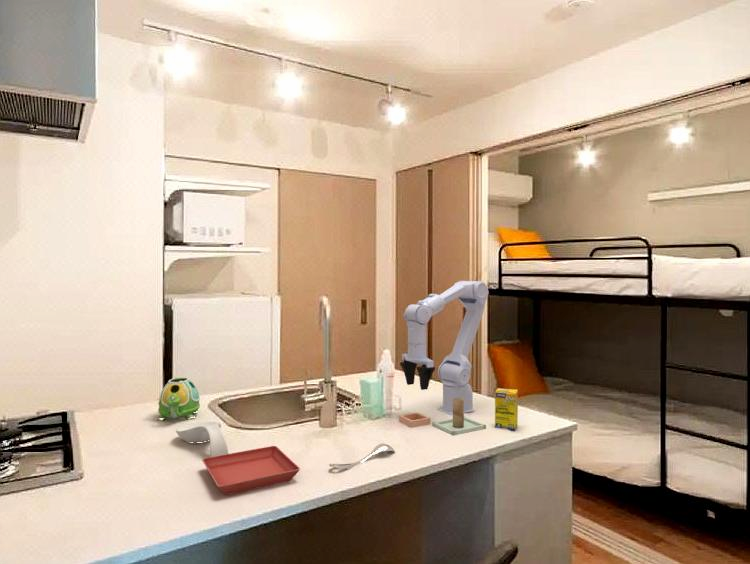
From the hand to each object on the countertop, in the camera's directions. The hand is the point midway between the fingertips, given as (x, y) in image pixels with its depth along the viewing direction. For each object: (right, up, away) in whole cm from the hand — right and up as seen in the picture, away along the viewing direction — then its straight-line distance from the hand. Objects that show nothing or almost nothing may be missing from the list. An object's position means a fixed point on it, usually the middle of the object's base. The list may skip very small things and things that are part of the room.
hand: (417, 386), depth 158 cm
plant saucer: (-42, -12, -42) cm, 60 cm away
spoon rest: (-58, -12, -22) cm, 63 cm away
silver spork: (-16, -12, -33) cm, 39 cm away
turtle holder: (-75, -11, +4) cm, 76 cm away
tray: (+12, -11, -8) cm, 18 cm away
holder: (-1, -11, -4) cm, 11 cm away
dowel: (+11, -10, -8) cm, 17 cm away
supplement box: (+26, -11, -7) cm, 29 cm away
